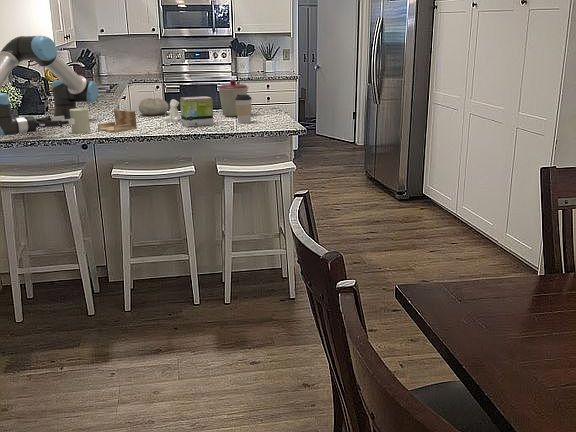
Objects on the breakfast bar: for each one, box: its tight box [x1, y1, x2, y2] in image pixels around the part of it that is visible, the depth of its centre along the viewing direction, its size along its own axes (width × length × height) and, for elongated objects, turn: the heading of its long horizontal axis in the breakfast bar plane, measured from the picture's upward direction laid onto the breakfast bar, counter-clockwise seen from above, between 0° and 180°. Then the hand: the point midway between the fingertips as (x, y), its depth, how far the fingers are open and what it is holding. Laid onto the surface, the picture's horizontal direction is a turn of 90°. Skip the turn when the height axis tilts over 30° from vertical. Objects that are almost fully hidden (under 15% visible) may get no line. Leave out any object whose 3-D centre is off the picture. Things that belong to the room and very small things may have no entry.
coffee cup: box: [235, 94, 252, 124], centre depth 323 cm, size 9×9×15 cm
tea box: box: [179, 95, 214, 128], centre depth 318 cm, size 15×10×15 cm, turn 117°
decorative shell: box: [138, 97, 170, 116], centre depth 358 cm, size 18×18×10 cm
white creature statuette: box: [162, 98, 181, 123], centre depth 333 cm, size 10×9×12 cm
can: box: [69, 107, 92, 134], centre depth 303 cm, size 9×9×12 cm
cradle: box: [97, 109, 138, 134], centre depth 308 cm, size 14×14×9 cm
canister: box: [217, 78, 250, 118], centre depth 347 cm, size 18×18×21 cm
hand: (69, 119), depth 299 cm, fingers open, 13 cm apart
